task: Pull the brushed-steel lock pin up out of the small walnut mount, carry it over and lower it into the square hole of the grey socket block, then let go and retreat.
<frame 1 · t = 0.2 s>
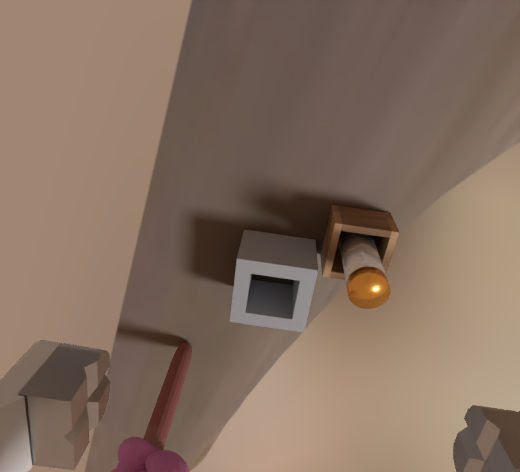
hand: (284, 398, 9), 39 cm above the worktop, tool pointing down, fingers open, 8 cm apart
pin: (360, 259, 45), in the mount
mount: (354, 234, 50), on the worktop
socket: (274, 264, 53), on the worktop
lollipop: (187, 342, 61), on the worktop
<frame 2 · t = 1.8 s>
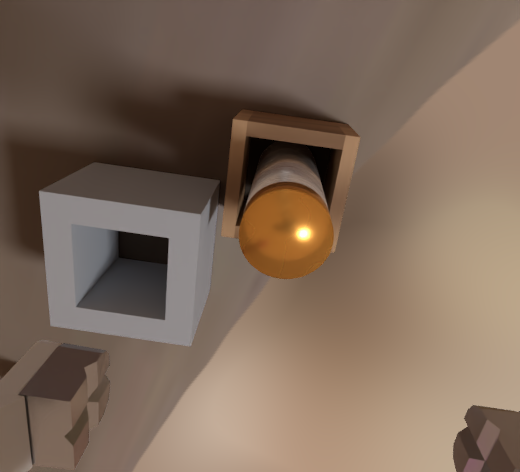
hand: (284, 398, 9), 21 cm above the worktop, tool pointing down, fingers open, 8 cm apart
pin: (286, 194, 23), in the mount
mount: (286, 168, 28), on the worktop
socket: (155, 229, 31), on the worktop
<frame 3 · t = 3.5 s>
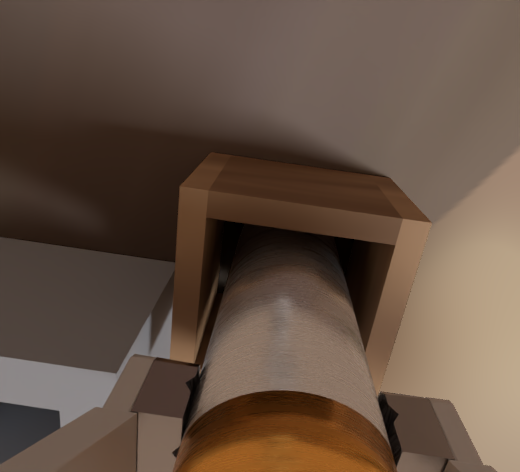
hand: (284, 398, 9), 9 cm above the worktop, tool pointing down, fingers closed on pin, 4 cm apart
pin: (285, 331, 12), in the mount, touching gripper
mount: (286, 246, 17), on the worktop
socket: (80, 333, 20), on the worktop
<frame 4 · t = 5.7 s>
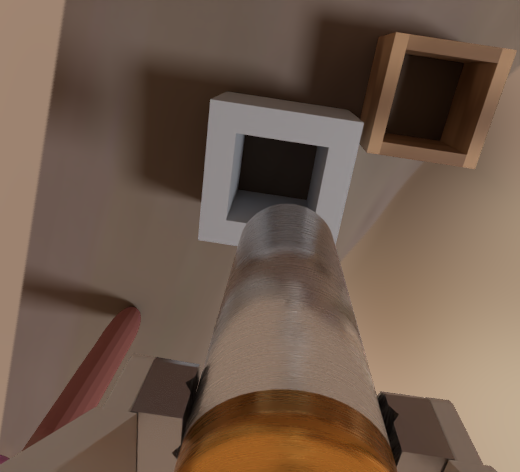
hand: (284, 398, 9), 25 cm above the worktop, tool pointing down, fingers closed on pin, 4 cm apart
pin: (285, 332, 12), point 22 cm above the worktop, touching gripper
mount: (414, 97, 30), on the worktop
socket: (277, 160, 32), on the worktop
lollipop: (135, 309, 39), on the worktop
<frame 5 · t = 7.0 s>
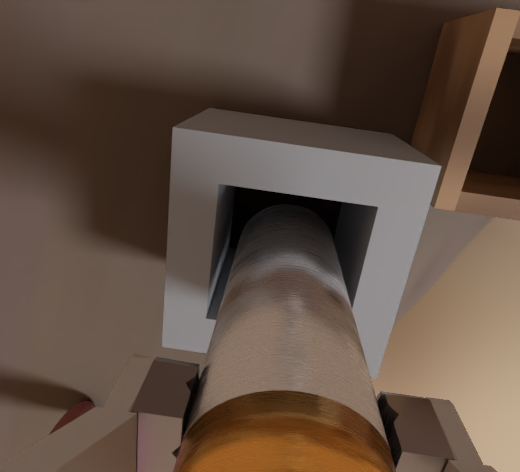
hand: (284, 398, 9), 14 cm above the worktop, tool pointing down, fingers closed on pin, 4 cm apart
pin: (285, 332, 12), point 11 cm above the worktop, touching gripper
mount: (494, 115, 19), on the worktop
socket: (286, 207, 22), on the worktop
lollipop: (91, 402, 28), on the worktop
when the fingers open (11 cm above the worktop, at t = 7.9 s): pin drops 2 cm, resting in socket.
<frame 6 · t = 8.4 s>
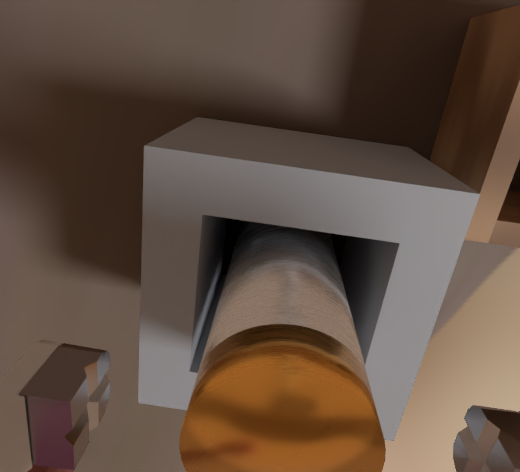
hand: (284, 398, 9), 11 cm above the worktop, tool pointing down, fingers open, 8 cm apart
pin: (283, 296, 14), in the socket
socket: (286, 230, 19), on the worktop
lollipop: (70, 441, 25), on the worktop
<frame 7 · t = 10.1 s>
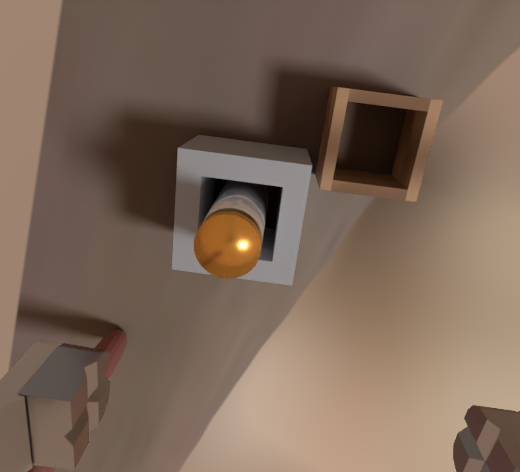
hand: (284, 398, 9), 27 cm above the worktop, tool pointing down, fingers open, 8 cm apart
pin: (238, 216, 30), in the socket
mount: (365, 137, 33), on the worktop
socket: (246, 194, 35), on the worktop
lollipop: (121, 332, 42), on the worktop
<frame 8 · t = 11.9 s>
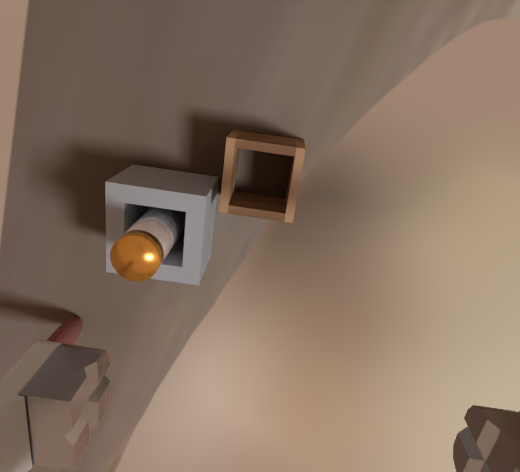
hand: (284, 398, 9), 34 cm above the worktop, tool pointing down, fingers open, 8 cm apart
pin: (156, 232, 39), in the socket
mount: (263, 169, 42), on the worktop
socket: (173, 211, 44), on the worktop
lollipop: (79, 319, 51), on the worktop
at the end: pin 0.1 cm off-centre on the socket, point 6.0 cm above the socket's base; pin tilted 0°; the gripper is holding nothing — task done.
